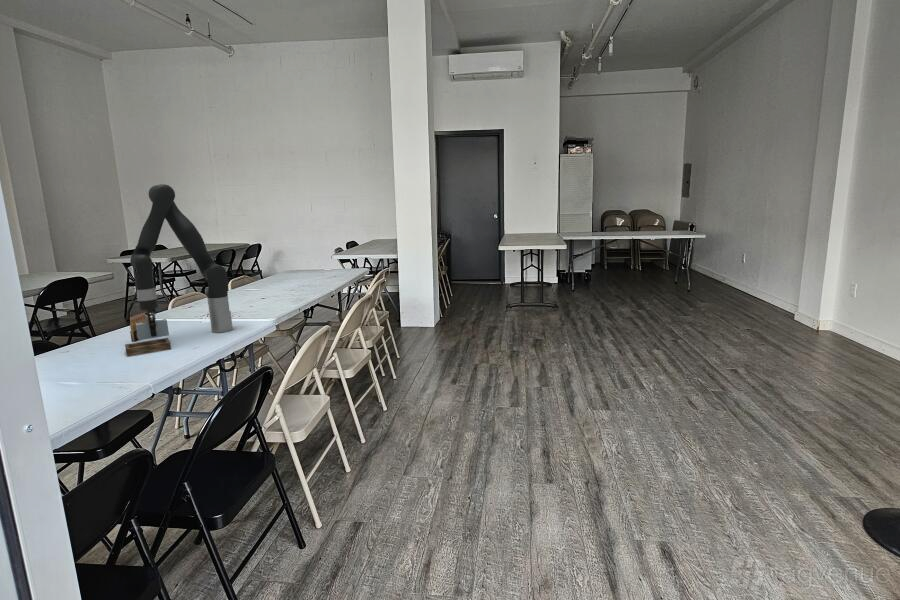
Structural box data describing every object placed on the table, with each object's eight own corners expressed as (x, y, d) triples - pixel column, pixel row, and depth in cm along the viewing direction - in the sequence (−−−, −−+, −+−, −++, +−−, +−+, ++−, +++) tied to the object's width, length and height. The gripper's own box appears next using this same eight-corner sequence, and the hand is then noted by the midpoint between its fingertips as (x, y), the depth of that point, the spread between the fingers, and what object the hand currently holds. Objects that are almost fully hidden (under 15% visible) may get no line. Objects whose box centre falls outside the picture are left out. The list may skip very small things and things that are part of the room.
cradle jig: (168, 344, 231) (167, 337, 230) (171, 349, 223) (170, 342, 222) (126, 351, 221) (124, 344, 221) (127, 356, 214) (126, 349, 213)
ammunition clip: (135, 341, 237) (131, 316, 235) (131, 341, 237) (127, 316, 235) (150, 335, 247) (147, 311, 245) (147, 335, 248) (143, 311, 245)
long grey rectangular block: (168, 333, 237) (165, 319, 235) (169, 335, 234) (166, 320, 232) (138, 338, 230) (135, 323, 229) (139, 340, 227) (136, 325, 225)
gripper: (158, 299, 224) (164, 336, 228) (155, 295, 236) (161, 330, 240) (139, 302, 220) (145, 340, 224) (136, 297, 232) (142, 333, 235)
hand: (153, 335), depth 232 cm, fingers closed on long grey rectangular block, 4 cm apart
